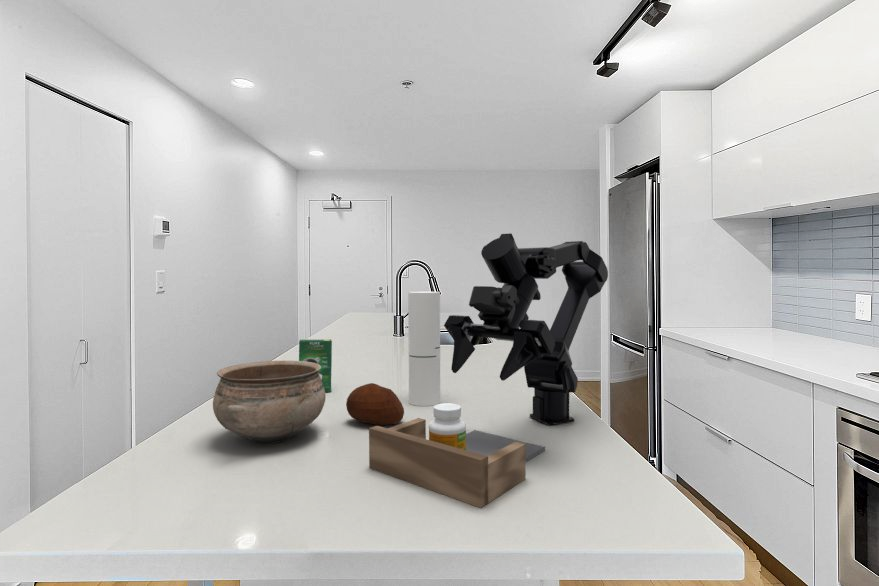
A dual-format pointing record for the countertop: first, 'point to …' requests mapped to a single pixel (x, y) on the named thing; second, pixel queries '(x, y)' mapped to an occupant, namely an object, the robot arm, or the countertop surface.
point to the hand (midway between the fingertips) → (476, 375)
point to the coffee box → (318, 357)
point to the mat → (496, 444)
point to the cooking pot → (269, 399)
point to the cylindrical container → (424, 348)
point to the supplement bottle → (448, 426)
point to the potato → (374, 405)
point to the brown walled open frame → (445, 463)
